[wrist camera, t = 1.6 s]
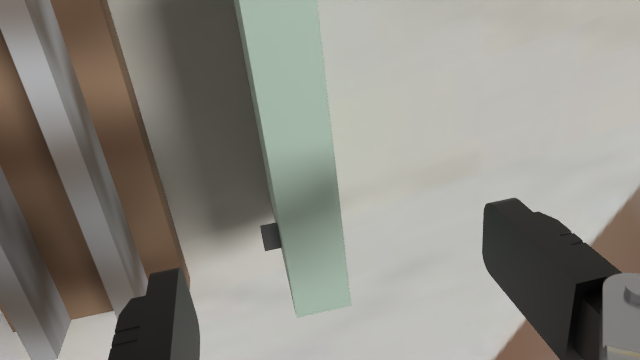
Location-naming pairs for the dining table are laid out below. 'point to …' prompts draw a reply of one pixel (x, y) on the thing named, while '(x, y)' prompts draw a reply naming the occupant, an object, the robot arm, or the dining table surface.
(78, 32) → the door track
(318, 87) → the door panel
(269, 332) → the dining table surface
